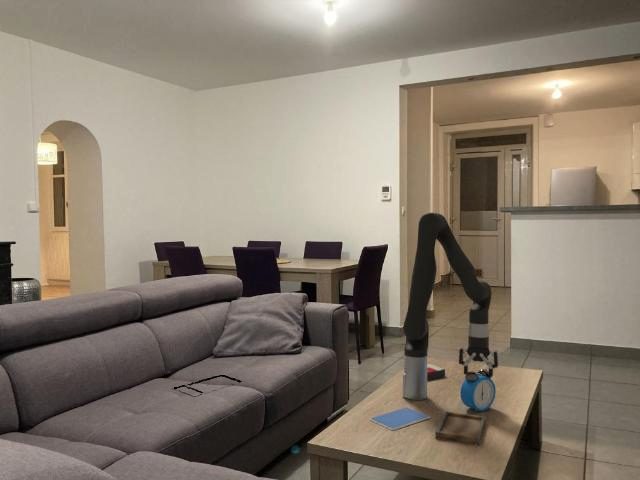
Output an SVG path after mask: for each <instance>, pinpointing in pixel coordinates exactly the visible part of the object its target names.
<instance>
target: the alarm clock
mask: <svg viewBox="0 0 640 480" xmlns="http://www.w3.org/2000/svg"><path fill="white" fill-rule="evenodd" d="M464 375H465V376H464V380H463V382H462V384H461V387H460V391H459V392H460V400H461V402H462V404H463V405H465V407H468V408H469V409H472V410H474V412H475V413H477V412H485V411H486V410H489V409H490V407H491V406H492V404H493V402H494V401H495V398H496V393H497V391H496V386H495V385H496V384H495V383H494V381H493V380H492V379H490V378H489V370H487V369H486V368H485V369H484V368H482V369H479V370H478V371H477V372H475V371H473V370H471V371H468V373H467V374H464Z"/></svg>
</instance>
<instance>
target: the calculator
mask: <svg viewBox="0 0 640 480" xmlns="http://www.w3.org/2000/svg"><path fill="white" fill-rule="evenodd" d="M445 377H446V369H445V368H442V367H440V366H438V365H435V364H432V363H427V381H430V380H435V379H441V378H445Z"/></svg>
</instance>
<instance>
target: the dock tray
mask: <svg viewBox="0 0 640 480" xmlns="http://www.w3.org/2000/svg"><path fill="white" fill-rule="evenodd" d="M485 426H486V416H483V415H482V416H480V415H476V414H465V413H460V412H459V413H458V412H452V411H447V410H446V411H445V412H444V414H443V416H442V418H441V420H440V421H439V424H438V426H437V428H436V430H435V433H434V435H435V438H434V439H437V440H442V441H443V440H444V441H448V442H449V441H450V442H456V443H461V442H462V444H467V443H469V445H474V444H477V445H476V446H480V443H481V441H482V440H481V439H482V436H483V433H484V430H485ZM480 440H481V441H480Z"/></svg>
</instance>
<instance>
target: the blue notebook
mask: <svg viewBox="0 0 640 480" xmlns="http://www.w3.org/2000/svg"><path fill="white" fill-rule="evenodd" d="M430 419H431V416H429V415H428V414H426V413H425V414H424V413H422V412H420V411H418V410H415V409H412V408H409V407H404V408H400V409H396V410H393V411H390V412H386V413H383V414H381V415H380V414H379V415H377V416H374V417H370V418H369V421H371V422H372V423H374V424H376V425H379V426H380V427H382V428H384V429H387V430H389V431H391V432H393V431H398V430H399V429H403V428H406V427H409V426H411V425H414V424H417V423H421V422H424V421H426V420H430Z"/></svg>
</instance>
